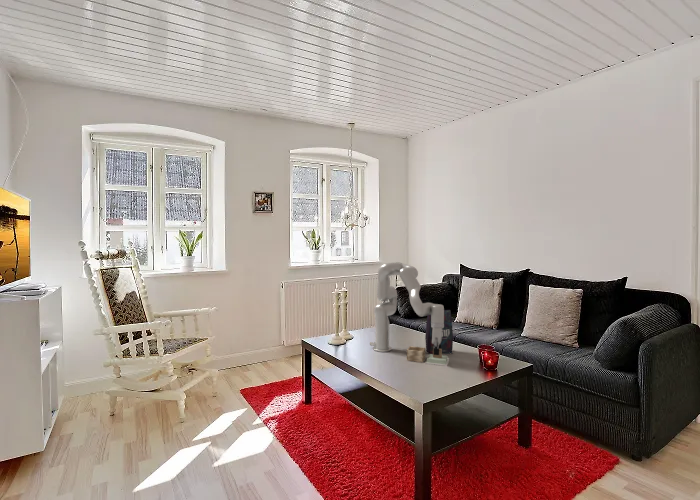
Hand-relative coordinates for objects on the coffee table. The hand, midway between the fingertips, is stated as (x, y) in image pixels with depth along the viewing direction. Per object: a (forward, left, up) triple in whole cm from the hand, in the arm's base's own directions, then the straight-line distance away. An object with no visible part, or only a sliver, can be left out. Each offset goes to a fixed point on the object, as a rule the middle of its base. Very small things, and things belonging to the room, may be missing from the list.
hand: (437, 352), depth 241 cm
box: (-13, 0, -5) cm, 14 cm away
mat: (0, 0, -5) cm, 5 cm away
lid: (0, 0, -5) cm, 5 cm away
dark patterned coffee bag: (-2, +20, -6) cm, 20 cm away
